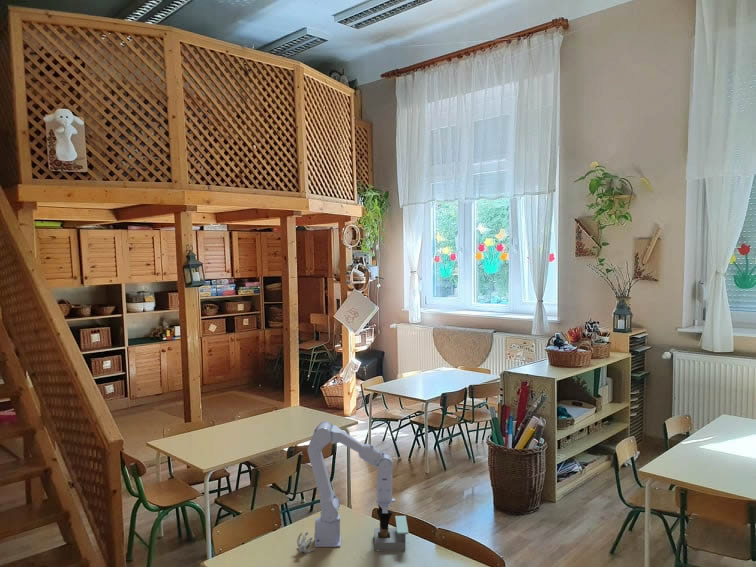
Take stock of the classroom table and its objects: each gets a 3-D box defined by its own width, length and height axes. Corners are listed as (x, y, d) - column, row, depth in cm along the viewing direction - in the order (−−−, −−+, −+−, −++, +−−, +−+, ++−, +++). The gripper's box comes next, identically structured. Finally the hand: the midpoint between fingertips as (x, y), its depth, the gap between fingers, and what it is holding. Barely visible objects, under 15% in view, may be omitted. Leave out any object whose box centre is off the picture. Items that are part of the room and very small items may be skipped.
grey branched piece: (318, 544, 204) (315, 550, 193) (308, 554, 203) (305, 561, 192) (304, 528, 206) (300, 533, 194) (294, 537, 205) (290, 543, 193)
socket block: (374, 552, 197) (375, 532, 197) (374, 534, 210) (374, 515, 210) (408, 552, 197) (408, 532, 197) (405, 534, 210) (405, 515, 210)
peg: (379, 545, 202) (380, 521, 202) (379, 540, 205) (379, 517, 205) (388, 545, 202) (388, 521, 202) (387, 540, 205) (388, 517, 205)
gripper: (396, 496, 196) (395, 533, 196) (394, 480, 210) (393, 514, 211) (376, 496, 196) (376, 533, 196) (375, 479, 210) (375, 514, 211)
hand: (383, 523), depth 203 cm, fingers open, 7 cm apart
